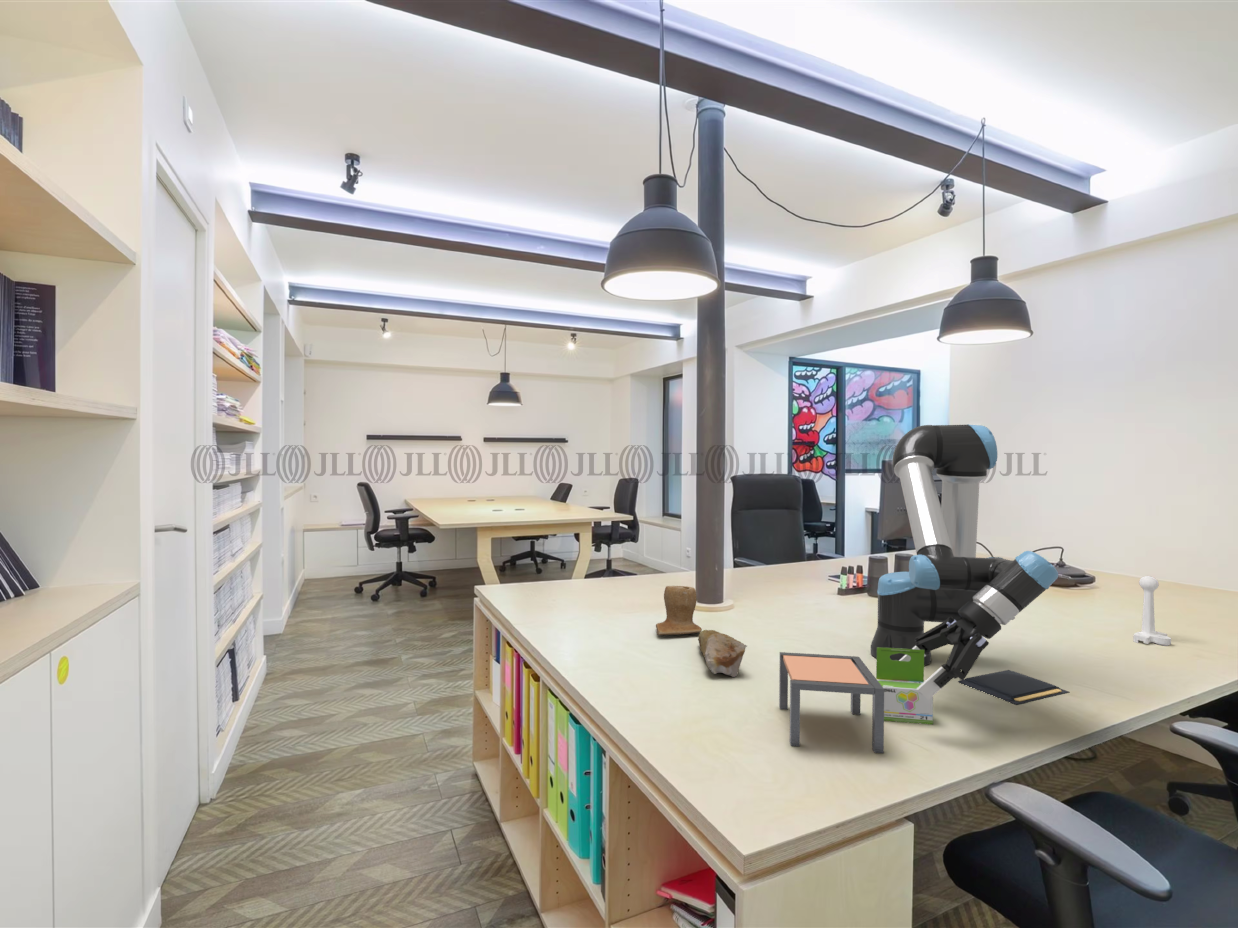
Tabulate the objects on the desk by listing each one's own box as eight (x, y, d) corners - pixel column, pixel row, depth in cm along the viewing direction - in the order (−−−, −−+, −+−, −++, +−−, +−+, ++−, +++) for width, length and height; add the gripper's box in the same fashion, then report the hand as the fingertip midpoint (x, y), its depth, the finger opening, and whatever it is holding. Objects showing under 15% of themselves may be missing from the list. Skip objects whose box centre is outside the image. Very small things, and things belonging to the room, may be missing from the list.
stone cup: (692, 625, 188) (692, 580, 188) (705, 636, 177) (706, 588, 177) (648, 628, 185) (648, 582, 185) (659, 639, 173) (659, 590, 173)
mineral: (687, 616, 168) (720, 621, 169) (683, 648, 168) (715, 652, 169) (712, 637, 142) (751, 643, 143) (707, 675, 141) (746, 680, 142)
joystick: (1149, 636, 180) (1150, 573, 180) (1180, 643, 173) (1181, 578, 173) (1128, 640, 176) (1129, 575, 176) (1159, 648, 169) (1160, 580, 169)
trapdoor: (850, 663, 122) (850, 658, 122) (868, 689, 109) (868, 683, 109) (783, 659, 125) (783, 655, 125) (792, 684, 111) (792, 679, 111)
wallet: (1009, 666, 149) (1073, 688, 135) (1009, 673, 149) (1073, 696, 135) (953, 675, 142) (1015, 699, 128) (953, 683, 142) (1014, 708, 128)
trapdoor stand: (858, 711, 124) (858, 656, 124) (883, 753, 106) (884, 688, 106) (779, 705, 127) (779, 651, 127) (790, 745, 109) (791, 682, 109)
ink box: (880, 720, 120) (881, 654, 120) (873, 709, 125) (874, 646, 125) (933, 724, 118) (934, 657, 118) (924, 713, 123) (925, 649, 123)
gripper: (1035, 644, 106) (948, 720, 108) (972, 611, 130) (902, 673, 132) (1004, 615, 106) (918, 691, 108) (947, 587, 131) (878, 649, 133)
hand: (909, 681), depth 120 cm, fingers open, 13 cm apart
